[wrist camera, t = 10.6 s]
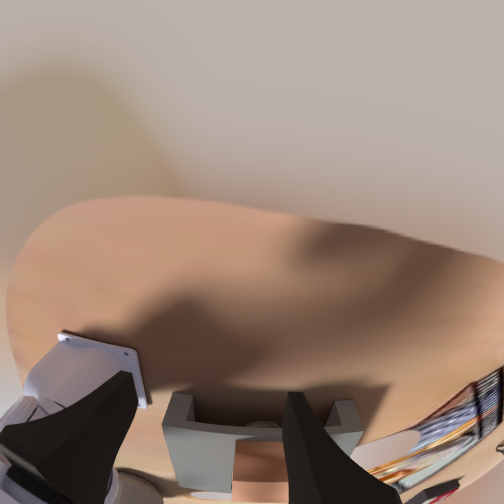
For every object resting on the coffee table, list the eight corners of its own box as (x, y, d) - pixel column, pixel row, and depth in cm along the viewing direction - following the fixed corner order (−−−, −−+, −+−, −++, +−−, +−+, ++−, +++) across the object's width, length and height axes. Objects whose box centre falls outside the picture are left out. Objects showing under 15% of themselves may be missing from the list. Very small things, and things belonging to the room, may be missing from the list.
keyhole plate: (185, 460, 28) (179, 486, 23) (172, 392, 24) (161, 424, 20) (321, 465, 28) (326, 491, 23) (352, 399, 24) (364, 430, 20)
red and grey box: (434, 507, 35) (398, 520, 33) (429, 497, 39) (394, 509, 37) (461, 487, 32) (429, 501, 30) (456, 476, 36) (423, 489, 34)
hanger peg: (235, 443, 24) (231, 501, 17) (237, 416, 23) (232, 480, 16) (283, 445, 24) (287, 502, 17) (290, 417, 23) (297, 481, 16)
